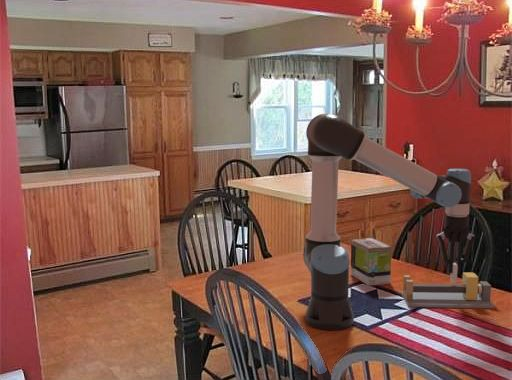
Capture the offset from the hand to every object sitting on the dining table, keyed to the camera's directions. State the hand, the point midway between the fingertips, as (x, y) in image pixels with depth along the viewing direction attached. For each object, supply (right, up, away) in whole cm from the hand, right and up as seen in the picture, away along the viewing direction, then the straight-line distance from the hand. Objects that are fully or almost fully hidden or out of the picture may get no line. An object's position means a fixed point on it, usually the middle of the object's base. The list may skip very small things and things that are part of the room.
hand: (453, 282), depth 184 cm
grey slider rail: (-2, -7, +1) cm, 7 cm away
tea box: (-23, -3, +26) cm, 35 cm away
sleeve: (+6, -5, 0) cm, 8 cm away
